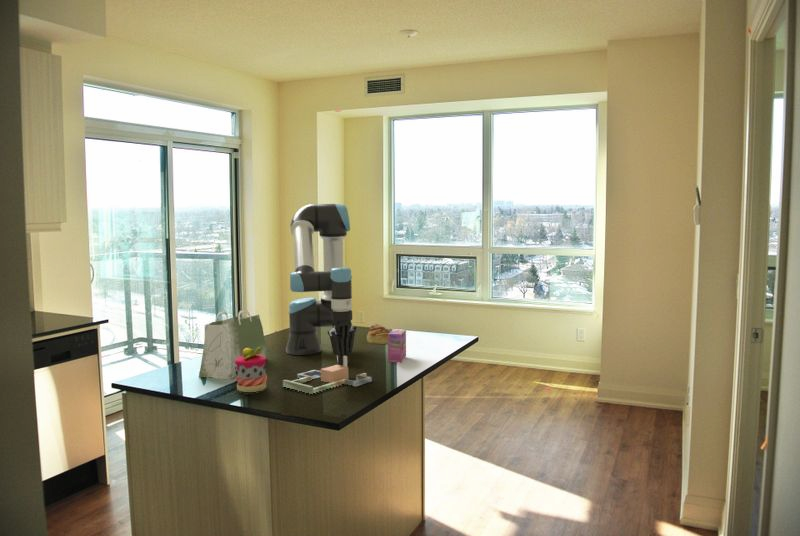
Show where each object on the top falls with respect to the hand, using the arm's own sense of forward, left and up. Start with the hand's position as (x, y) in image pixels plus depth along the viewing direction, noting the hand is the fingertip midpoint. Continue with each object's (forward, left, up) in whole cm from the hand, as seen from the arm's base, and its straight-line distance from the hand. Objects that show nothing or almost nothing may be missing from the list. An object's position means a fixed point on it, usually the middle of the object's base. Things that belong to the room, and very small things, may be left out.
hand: (343, 373), depth 226 cm
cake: (-15, -30, -2) cm, 34 cm away
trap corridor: (0, -8, -2) cm, 8 cm away
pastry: (-33, +57, -2) cm, 66 cm away
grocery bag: (-45, -16, -2) cm, 48 cm away
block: (0, -5, -2) cm, 5 cm away
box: (-2, +33, -2) cm, 33 cm away
